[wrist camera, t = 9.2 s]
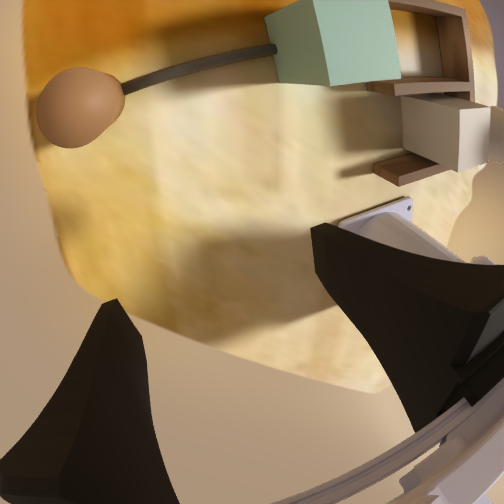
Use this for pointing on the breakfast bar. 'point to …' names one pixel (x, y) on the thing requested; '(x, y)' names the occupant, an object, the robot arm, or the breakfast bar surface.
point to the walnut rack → (430, 82)
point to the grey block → (446, 129)
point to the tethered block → (281, 47)
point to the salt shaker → (496, 135)
